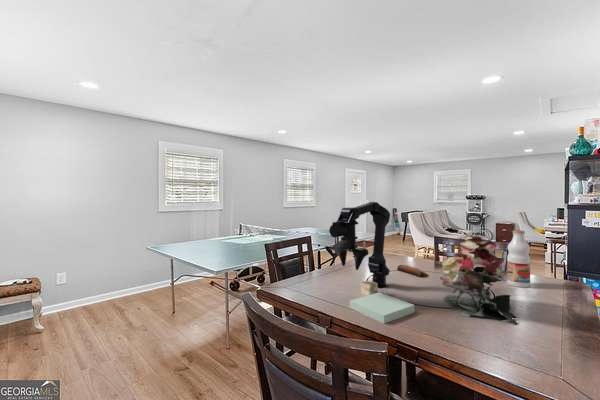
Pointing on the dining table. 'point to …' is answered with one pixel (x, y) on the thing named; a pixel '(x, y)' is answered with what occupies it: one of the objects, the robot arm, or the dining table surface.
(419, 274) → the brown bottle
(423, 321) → the dining table surface
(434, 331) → the dining table surface
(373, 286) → the maple cube
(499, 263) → the rose bouquet
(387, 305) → the platform
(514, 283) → the fruit juice
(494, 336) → the dining table surface
